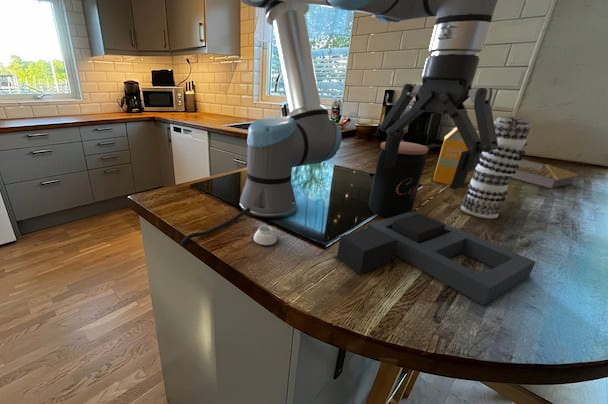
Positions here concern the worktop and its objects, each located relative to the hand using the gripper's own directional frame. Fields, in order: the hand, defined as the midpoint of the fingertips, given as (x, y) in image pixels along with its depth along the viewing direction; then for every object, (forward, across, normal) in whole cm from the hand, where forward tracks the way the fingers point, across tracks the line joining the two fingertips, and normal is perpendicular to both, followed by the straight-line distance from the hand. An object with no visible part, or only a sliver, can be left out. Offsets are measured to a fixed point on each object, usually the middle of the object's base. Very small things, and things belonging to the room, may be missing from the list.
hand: (419, 176), depth 58 cm
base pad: (+16, +6, +4) cm, 17 cm away
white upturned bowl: (+16, -16, -25) cm, 33 cm away
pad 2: (+16, +1, +4) cm, 16 cm away
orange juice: (+16, -20, +55) cm, 61 cm away
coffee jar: (+16, -12, +13) cm, 24 cm away
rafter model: (+16, -14, +88) cm, 91 cm away
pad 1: (+16, 0, -11) cm, 19 cm away
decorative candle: (+16, -1, +36) cm, 39 cm away
